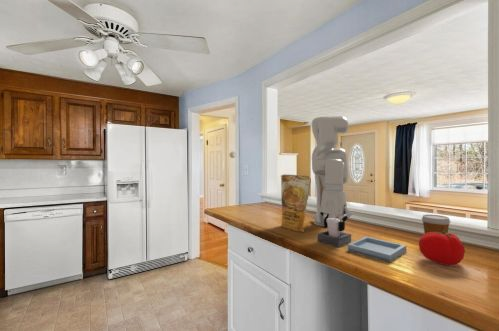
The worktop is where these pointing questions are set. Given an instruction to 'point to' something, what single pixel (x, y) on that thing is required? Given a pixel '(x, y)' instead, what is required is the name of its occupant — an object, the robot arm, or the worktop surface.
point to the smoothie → (333, 226)
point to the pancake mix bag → (294, 201)
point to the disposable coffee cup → (435, 223)
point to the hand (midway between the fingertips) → (334, 228)
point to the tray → (377, 248)
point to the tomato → (442, 248)
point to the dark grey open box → (334, 239)
